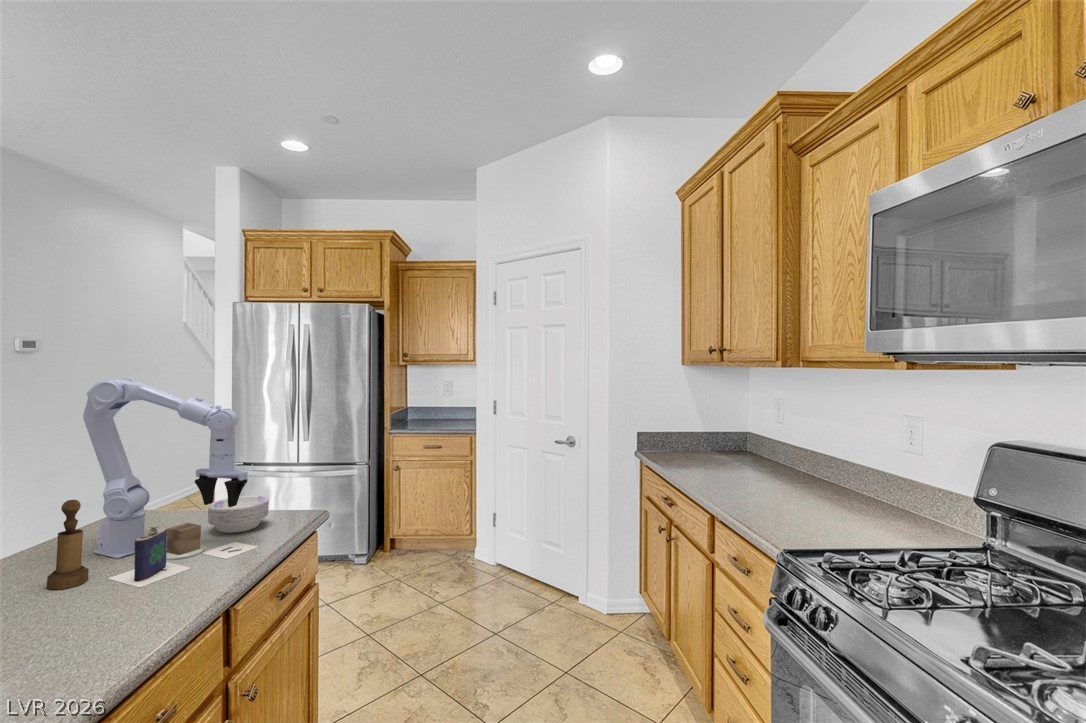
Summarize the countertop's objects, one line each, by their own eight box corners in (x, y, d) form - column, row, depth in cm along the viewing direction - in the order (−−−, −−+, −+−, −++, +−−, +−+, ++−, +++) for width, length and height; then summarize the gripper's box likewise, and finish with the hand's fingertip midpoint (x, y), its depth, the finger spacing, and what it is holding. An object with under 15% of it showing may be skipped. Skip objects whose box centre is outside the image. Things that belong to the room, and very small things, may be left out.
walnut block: (166, 552, 122) (167, 528, 123) (186, 545, 127) (187, 522, 127) (180, 555, 121) (180, 531, 121) (200, 548, 126) (201, 525, 126)
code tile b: (201, 553, 124) (201, 553, 124) (234, 542, 132) (234, 541, 132) (226, 559, 121) (226, 558, 121) (258, 547, 129) (258, 546, 129)
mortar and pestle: (95, 580, 108) (98, 498, 108) (58, 592, 101) (62, 505, 102) (76, 575, 110) (79, 495, 110) (39, 587, 104) (42, 502, 104)
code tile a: (107, 578, 108) (107, 578, 108) (161, 561, 119) (161, 560, 119) (139, 587, 104) (139, 587, 104) (192, 568, 115) (192, 567, 115)
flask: (157, 565, 116) (159, 519, 116) (170, 564, 116) (172, 519, 116) (130, 582, 107) (132, 533, 107) (144, 581, 107) (146, 532, 107)
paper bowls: (204, 526, 144) (205, 499, 145) (262, 517, 154) (263, 492, 154) (210, 541, 133) (211, 511, 133) (272, 530, 142) (273, 503, 143)
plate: (152, 556, 121) (152, 554, 121) (189, 544, 130) (189, 542, 130) (176, 562, 118) (176, 559, 118) (212, 549, 127) (212, 547, 127)
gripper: (186, 455, 129) (184, 506, 128) (233, 458, 126) (231, 511, 126) (209, 451, 136) (207, 500, 135) (254, 454, 133) (252, 504, 132)
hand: (220, 505), depth 131 cm, fingers open, 7 cm apart
